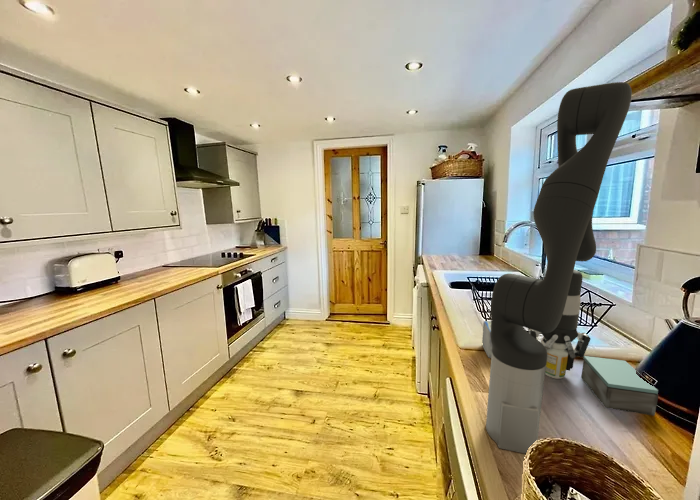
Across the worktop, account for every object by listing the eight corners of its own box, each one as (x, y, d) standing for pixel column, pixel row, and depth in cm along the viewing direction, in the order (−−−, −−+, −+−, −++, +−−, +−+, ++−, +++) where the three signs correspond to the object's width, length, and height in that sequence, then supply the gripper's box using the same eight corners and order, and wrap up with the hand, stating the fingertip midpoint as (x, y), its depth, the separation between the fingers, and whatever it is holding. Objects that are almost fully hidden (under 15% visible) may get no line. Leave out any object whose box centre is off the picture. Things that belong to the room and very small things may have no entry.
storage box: (654, 415, 65) (658, 395, 64) (605, 408, 67) (608, 388, 66) (622, 382, 76) (625, 365, 75) (581, 377, 79) (583, 360, 78)
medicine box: (503, 359, 88) (506, 332, 86) (487, 358, 89) (489, 331, 87) (496, 346, 95) (498, 321, 94) (481, 345, 96) (483, 320, 95)
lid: (657, 393, 64) (658, 390, 64) (608, 386, 67) (608, 383, 67) (624, 363, 75) (625, 360, 75) (583, 358, 78) (583, 355, 78)
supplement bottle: (545, 377, 79) (549, 344, 77) (538, 366, 84) (542, 335, 82) (568, 381, 77) (573, 347, 75) (560, 369, 82) (564, 337, 81)
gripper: (534, 310, 76) (528, 370, 79) (601, 316, 72) (592, 379, 75) (526, 301, 83) (520, 356, 86) (586, 305, 79) (578, 363, 82)
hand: (554, 366), depth 80 cm, fingers closed on supplement bottle, 5 cm apart
